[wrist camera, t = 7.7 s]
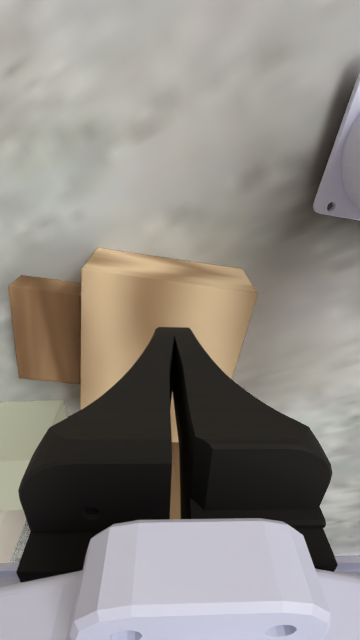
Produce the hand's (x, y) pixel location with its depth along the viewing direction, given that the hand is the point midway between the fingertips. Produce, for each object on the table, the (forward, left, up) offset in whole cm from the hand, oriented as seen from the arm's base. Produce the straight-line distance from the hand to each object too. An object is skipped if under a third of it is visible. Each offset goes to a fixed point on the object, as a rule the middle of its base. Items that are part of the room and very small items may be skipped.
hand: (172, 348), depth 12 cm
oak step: (0, +6, -10) cm, 12 cm away
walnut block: (+5, +6, -9) cm, 12 cm away
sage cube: (+10, +17, -10) cm, 22 cm away
